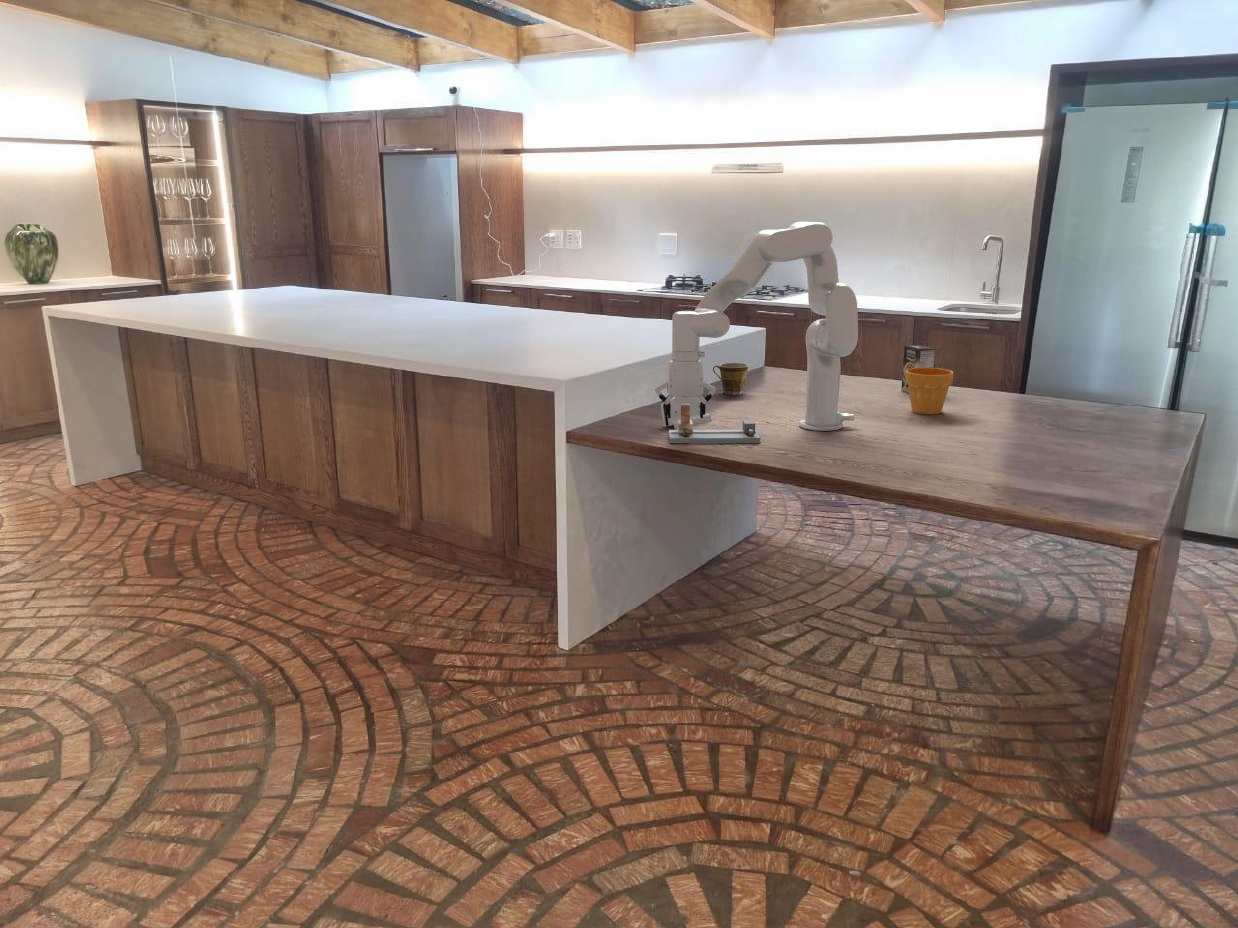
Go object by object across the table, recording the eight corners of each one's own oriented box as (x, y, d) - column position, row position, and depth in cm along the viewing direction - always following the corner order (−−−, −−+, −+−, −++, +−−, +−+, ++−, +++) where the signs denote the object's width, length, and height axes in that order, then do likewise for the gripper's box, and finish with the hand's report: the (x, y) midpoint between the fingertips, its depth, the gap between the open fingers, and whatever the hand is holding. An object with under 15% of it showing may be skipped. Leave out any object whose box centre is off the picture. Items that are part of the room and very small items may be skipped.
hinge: (675, 429, 264) (667, 396, 264) (664, 432, 267) (656, 400, 267) (712, 420, 275) (704, 388, 274) (701, 423, 278) (694, 392, 278)
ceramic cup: (751, 392, 316) (752, 364, 313) (740, 397, 308) (740, 368, 305) (718, 388, 323) (719, 361, 320) (706, 393, 315) (706, 365, 312)
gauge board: (755, 434, 257) (756, 418, 255) (760, 443, 247) (760, 426, 246) (668, 434, 257) (668, 419, 256) (670, 443, 247) (670, 427, 246)
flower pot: (904, 415, 277) (907, 374, 274) (901, 406, 291) (904, 366, 287) (952, 417, 274) (956, 375, 271) (947, 407, 287) (950, 368, 284)
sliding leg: (691, 429, 255) (691, 402, 253) (693, 437, 247) (693, 409, 245) (677, 430, 255) (677, 403, 253) (679, 437, 247) (679, 409, 245)
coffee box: (900, 390, 315) (903, 345, 311) (915, 389, 317) (919, 344, 313) (915, 395, 307) (919, 348, 303) (931, 394, 309) (935, 347, 304)
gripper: (715, 354, 250) (714, 414, 255) (654, 354, 251) (654, 414, 256) (718, 358, 243) (717, 420, 248) (654, 358, 244) (654, 420, 248)
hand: (685, 417), depth 252 cm, fingers open, 8 cm apart
